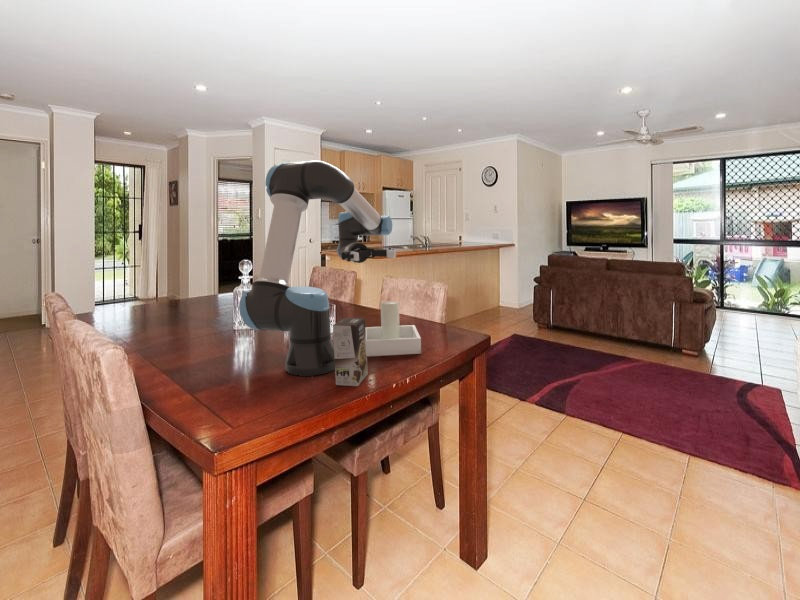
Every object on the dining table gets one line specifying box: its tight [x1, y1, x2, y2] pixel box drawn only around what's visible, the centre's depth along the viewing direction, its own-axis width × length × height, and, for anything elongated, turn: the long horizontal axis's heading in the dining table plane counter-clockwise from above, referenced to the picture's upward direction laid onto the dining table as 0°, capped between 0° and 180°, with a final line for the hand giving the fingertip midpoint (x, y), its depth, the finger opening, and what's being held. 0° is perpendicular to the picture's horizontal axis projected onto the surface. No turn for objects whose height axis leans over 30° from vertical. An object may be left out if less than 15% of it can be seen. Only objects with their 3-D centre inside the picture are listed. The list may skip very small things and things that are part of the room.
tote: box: [365, 324, 422, 357], centre depth 144 cm, size 18×18×5 cm
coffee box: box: [332, 317, 368, 387], centre depth 114 cm, size 9×6×16 cm
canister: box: [380, 300, 400, 339], centre depth 143 cm, size 6×6×14 cm
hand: (376, 255), depth 148 cm, fingers open, 13 cm apart
